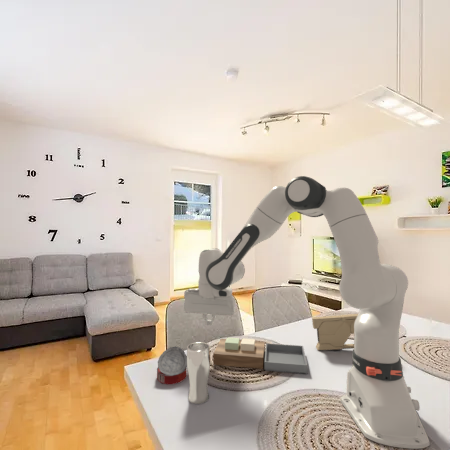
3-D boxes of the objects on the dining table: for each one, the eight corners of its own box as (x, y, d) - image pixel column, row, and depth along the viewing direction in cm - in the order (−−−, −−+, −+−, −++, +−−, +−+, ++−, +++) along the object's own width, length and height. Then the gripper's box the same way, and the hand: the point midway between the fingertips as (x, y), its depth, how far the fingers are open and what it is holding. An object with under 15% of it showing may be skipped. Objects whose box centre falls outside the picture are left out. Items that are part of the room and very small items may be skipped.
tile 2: (254, 351, 103) (254, 344, 103) (240, 350, 104) (240, 343, 104) (255, 345, 108) (255, 339, 108) (242, 344, 109) (242, 338, 109)
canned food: (186, 385, 96) (199, 362, 95) (167, 398, 87) (181, 372, 86) (164, 363, 101) (176, 340, 100) (144, 373, 92) (157, 348, 91)
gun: (376, 349, 113) (372, 312, 114) (380, 353, 110) (376, 315, 110) (315, 352, 116) (311, 316, 116) (317, 356, 112) (313, 318, 113)
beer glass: (188, 407, 77) (188, 352, 77) (185, 392, 84) (185, 343, 84) (212, 402, 79) (212, 349, 79) (207, 389, 86) (207, 340, 86)
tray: (307, 374, 94) (307, 365, 94) (264, 370, 97) (264, 361, 97) (302, 353, 110) (302, 345, 110) (266, 350, 113) (265, 343, 113)
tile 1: (238, 350, 104) (238, 343, 104) (224, 349, 105) (224, 342, 105) (239, 344, 109) (239, 338, 109) (227, 343, 110) (227, 337, 110)
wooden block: (263, 369, 98) (263, 357, 98) (213, 364, 101) (213, 353, 101) (264, 351, 112) (264, 341, 112) (220, 348, 115) (220, 338, 115)
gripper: (181, 290, 108) (181, 325, 108) (233, 292, 104) (233, 329, 104) (186, 286, 114) (186, 320, 114) (236, 289, 110) (235, 323, 110)
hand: (209, 324), depth 109 cm, fingers closed
